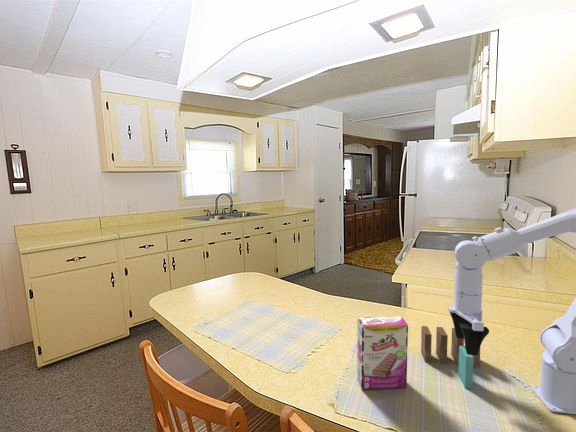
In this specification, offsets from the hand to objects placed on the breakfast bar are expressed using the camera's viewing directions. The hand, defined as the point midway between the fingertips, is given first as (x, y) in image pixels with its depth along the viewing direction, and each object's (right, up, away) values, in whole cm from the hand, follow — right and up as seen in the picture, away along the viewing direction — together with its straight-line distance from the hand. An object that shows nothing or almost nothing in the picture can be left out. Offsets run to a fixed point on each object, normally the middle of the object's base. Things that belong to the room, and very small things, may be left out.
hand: (466, 345), depth 76 cm
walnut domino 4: (+7, -8, +10) cm, 15 cm away
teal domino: (0, -9, +1) cm, 9 cm away
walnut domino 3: (+3, -8, +11) cm, 14 cm away
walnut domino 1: (-4, -8, +12) cm, 15 cm away
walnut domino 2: (0, -8, +11) cm, 14 cm away
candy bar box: (-20, -10, +1) cm, 23 cm away
